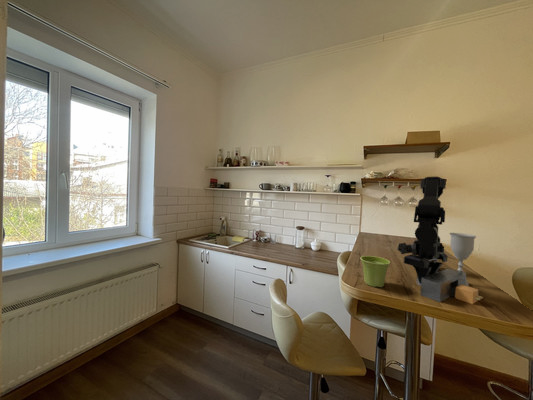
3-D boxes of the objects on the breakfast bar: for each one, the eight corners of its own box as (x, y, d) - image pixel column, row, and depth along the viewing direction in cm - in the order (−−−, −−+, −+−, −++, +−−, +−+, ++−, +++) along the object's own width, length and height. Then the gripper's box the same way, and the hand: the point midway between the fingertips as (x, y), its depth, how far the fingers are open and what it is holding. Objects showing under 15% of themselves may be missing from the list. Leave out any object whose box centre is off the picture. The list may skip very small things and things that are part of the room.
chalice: (472, 283, 77) (475, 235, 77) (474, 288, 72) (477, 237, 72) (446, 277, 82) (449, 232, 82) (446, 282, 77) (449, 234, 76)
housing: (447, 283, 76) (448, 268, 76) (465, 288, 72) (466, 273, 72) (420, 294, 66) (421, 277, 66) (439, 302, 62) (440, 283, 62)
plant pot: (354, 282, 74) (355, 258, 74) (366, 276, 80) (367, 254, 80) (381, 292, 67) (383, 265, 67) (393, 285, 73) (394, 260, 73)
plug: (415, 284, 74) (416, 274, 74) (421, 282, 77) (422, 272, 76) (478, 306, 60) (478, 294, 60) (483, 302, 63) (484, 291, 62)
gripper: (414, 233, 85) (412, 270, 85) (389, 236, 76) (387, 278, 76) (449, 238, 75) (446, 280, 76) (424, 243, 66) (422, 291, 66)
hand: (424, 282), depth 74 cm, fingers open, 5 cm apart
